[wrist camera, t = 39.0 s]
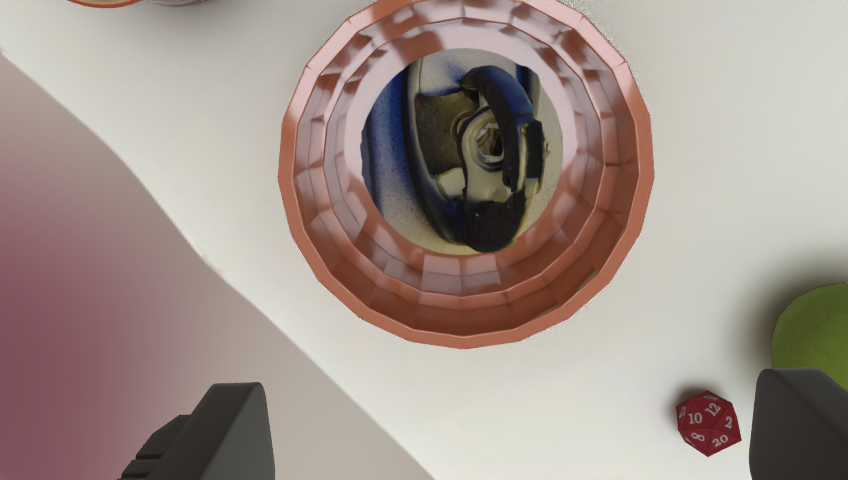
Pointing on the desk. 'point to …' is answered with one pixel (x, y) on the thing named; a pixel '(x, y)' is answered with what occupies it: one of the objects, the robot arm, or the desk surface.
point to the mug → (124, 0)
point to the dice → (708, 423)
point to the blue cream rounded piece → (462, 151)
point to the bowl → (483, 272)
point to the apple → (815, 333)
